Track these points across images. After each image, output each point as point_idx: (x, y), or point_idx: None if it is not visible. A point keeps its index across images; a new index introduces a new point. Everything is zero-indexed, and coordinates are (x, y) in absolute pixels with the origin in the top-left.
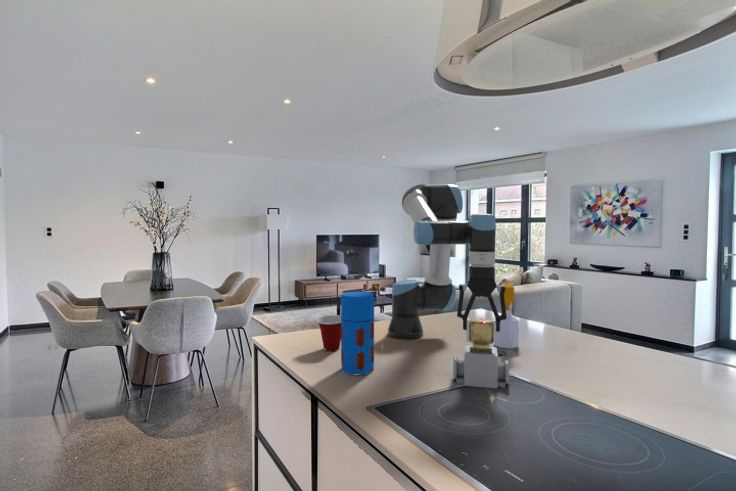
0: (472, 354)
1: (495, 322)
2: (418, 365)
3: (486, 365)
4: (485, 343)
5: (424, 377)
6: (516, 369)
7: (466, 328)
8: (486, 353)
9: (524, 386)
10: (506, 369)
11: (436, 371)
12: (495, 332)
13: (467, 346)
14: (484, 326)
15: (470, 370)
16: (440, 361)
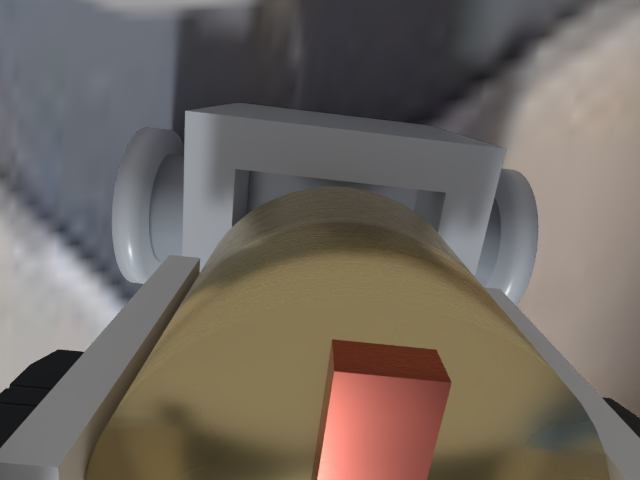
0: (429, 142)
1: (17, 449)
2: (628, 401)
3: (297, 118)
4: (296, 195)
5: (636, 228)
6: None
7: None
8: None
9: (79, 160)
10: (147, 146)
11: (547, 327)
12: (120, 319)
13: None
14: (310, 280)
15: (413, 128)
16: None
